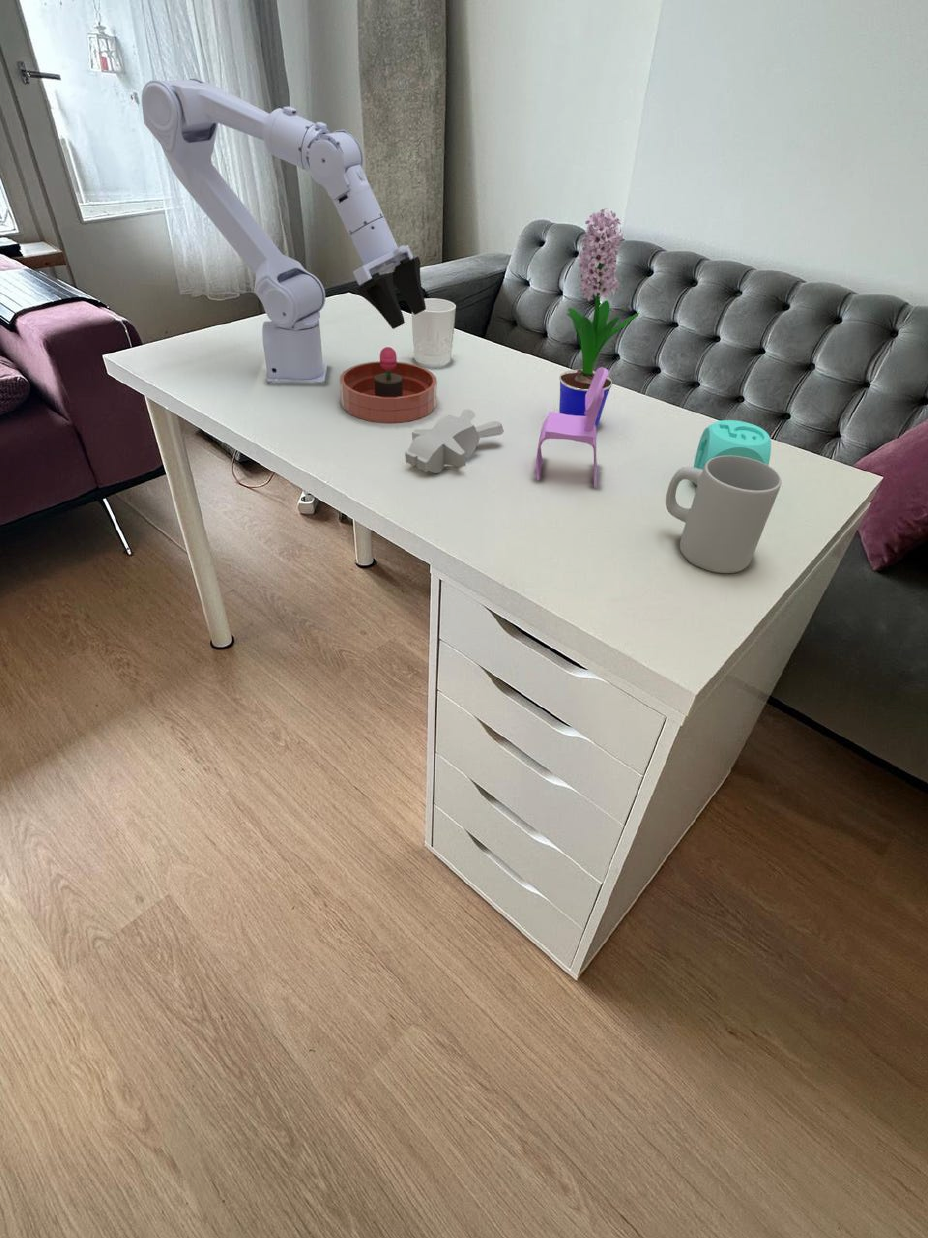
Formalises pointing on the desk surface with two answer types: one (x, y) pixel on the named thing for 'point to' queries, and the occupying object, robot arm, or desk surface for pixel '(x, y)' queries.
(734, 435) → the decorative dice
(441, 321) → the white cup
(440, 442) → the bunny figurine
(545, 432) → the toy chair
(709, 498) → the mug
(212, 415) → the desk surface
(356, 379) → the bowl
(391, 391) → the tulip
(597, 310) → the hyacinth
